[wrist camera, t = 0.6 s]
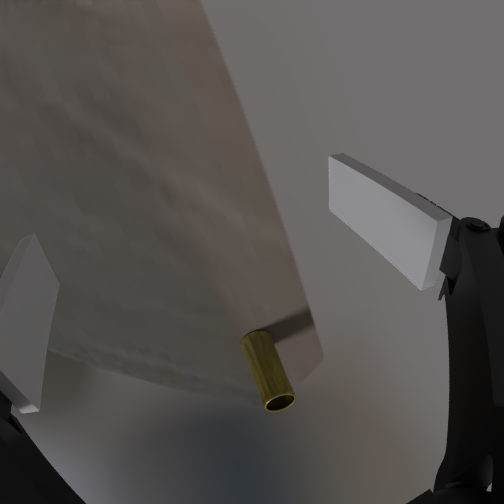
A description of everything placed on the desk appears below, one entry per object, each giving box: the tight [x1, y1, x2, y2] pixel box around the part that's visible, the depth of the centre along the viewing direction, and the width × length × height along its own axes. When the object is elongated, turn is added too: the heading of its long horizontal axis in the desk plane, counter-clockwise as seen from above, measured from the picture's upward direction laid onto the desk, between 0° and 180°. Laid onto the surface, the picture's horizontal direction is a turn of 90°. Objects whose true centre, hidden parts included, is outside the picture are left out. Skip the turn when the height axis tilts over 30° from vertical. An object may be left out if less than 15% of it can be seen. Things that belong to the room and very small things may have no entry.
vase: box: [240, 331, 296, 412], centre depth 53 cm, size 6×6×14 cm
